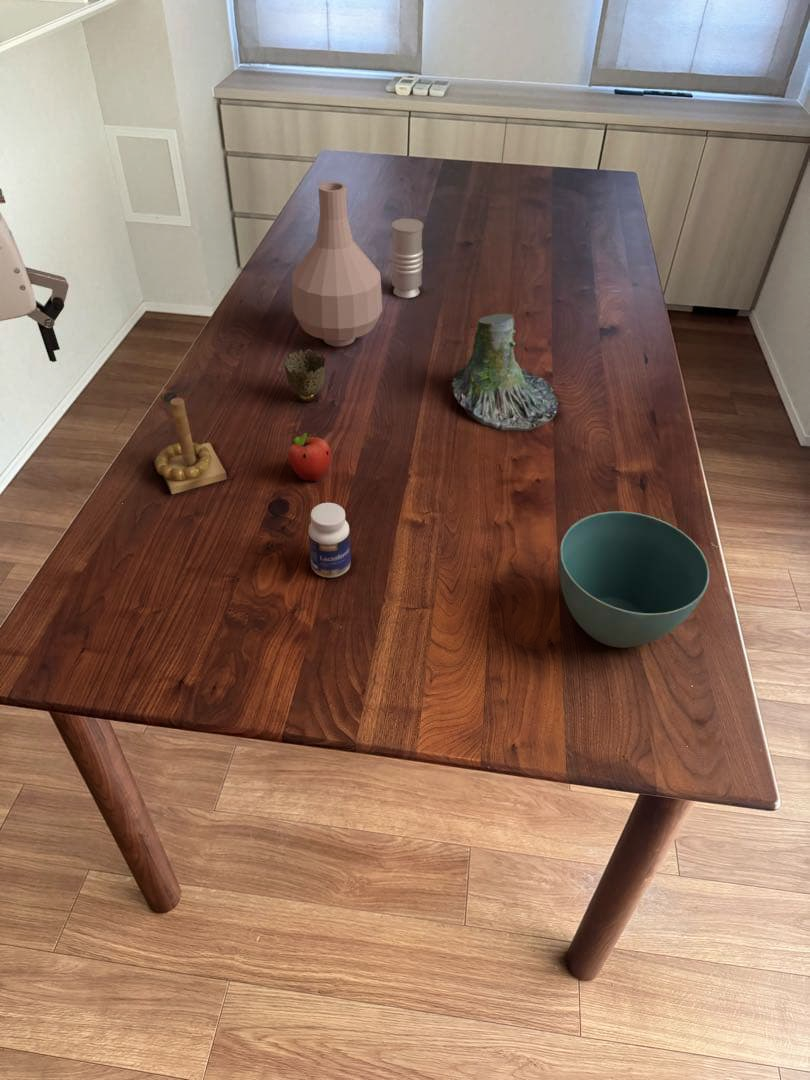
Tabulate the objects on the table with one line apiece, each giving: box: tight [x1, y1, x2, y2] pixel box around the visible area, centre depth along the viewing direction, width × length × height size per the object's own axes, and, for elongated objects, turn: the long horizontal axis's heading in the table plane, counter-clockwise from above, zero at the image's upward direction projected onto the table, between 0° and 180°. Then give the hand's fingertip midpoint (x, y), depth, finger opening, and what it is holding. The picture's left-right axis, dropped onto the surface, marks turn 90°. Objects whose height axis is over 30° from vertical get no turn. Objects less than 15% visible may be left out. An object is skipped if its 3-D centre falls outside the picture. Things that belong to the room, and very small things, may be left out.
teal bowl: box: [558, 510, 710, 649], centre depth 103 cm, size 18×18×12 cm
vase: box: [291, 181, 383, 347], centre depth 152 cm, size 18×18×30 cm
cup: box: [282, 349, 327, 403], centre depth 143 cm, size 8×7×8 cm
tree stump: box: [451, 313, 559, 431], centre depth 142 cm, size 18×20×18 cm
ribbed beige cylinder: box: [390, 218, 424, 299], centre depth 173 cm, size 7×7×15 cm
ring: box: [154, 442, 212, 480], centre depth 128 cm, size 9×9×2 cm
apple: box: [287, 432, 332, 482], centre depth 125 cm, size 8×7×10 cm
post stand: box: [155, 397, 228, 495], centre depth 125 cm, size 9×9×14 cm
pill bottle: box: [307, 502, 352, 579], centre depth 111 cm, size 6×6×10 cm
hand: (6, 365), depth 88 cm, fingers open, 9 cm apart
